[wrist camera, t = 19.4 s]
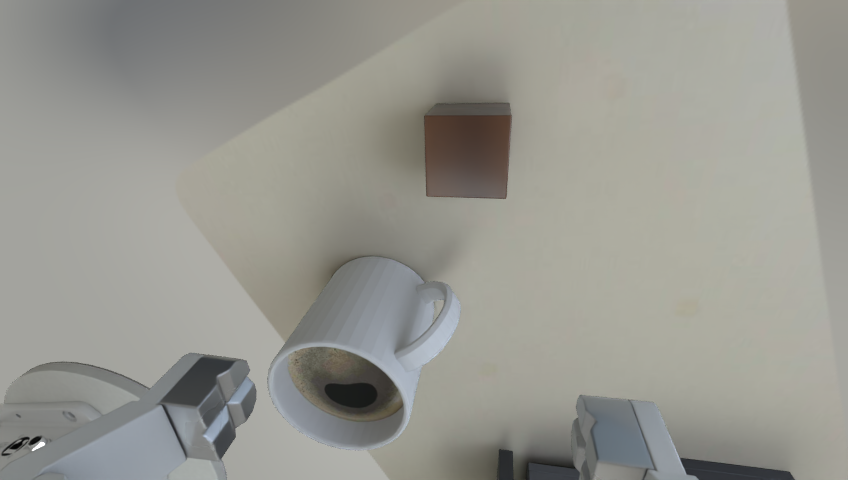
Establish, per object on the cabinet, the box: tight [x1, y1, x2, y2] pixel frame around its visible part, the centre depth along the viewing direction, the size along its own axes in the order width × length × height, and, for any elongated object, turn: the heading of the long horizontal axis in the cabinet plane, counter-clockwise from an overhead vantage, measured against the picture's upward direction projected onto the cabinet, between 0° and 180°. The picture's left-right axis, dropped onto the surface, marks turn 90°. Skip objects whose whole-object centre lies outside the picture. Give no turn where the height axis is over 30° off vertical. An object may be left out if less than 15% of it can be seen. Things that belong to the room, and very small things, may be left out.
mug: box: [267, 256, 461, 450], centre depth 28 cm, size 11×10×10 cm
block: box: [424, 103, 512, 199], centre depth 23 cm, size 4×4×4 cm
